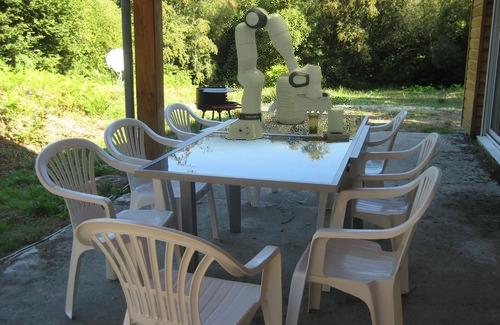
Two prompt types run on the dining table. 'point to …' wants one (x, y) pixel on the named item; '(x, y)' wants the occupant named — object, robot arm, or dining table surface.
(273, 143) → the dining table surface
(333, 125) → the supplement box
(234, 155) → the dining table surface
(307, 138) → the mat
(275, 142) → the dining table surface
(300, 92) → the vase
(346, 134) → the housing
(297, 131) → the dining table surface
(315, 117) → the knob
